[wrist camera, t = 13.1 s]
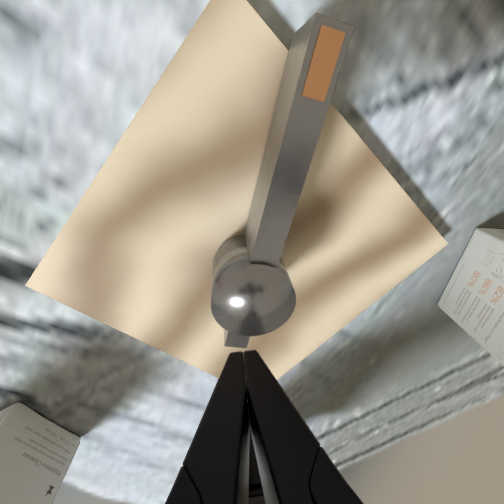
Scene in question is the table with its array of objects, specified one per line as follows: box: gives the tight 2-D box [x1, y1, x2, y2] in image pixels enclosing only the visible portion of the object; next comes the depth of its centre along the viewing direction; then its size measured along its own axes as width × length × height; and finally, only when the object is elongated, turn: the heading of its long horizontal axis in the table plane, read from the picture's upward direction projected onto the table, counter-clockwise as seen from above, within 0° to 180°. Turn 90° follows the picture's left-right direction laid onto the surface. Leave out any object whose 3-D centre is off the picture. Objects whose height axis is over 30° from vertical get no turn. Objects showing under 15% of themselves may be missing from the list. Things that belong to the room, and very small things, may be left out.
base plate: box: [25, 0, 448, 390], centre depth 21 cm, size 22×22×1 cm
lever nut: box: [211, 13, 354, 348], centre depth 16 cm, size 18×5×4 cm, turn 167°
